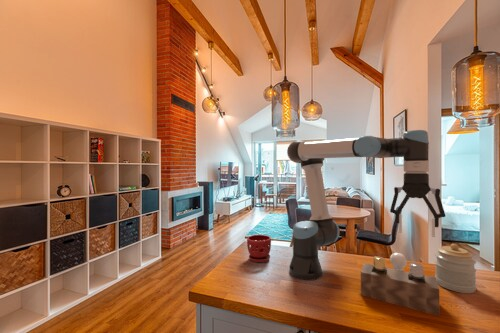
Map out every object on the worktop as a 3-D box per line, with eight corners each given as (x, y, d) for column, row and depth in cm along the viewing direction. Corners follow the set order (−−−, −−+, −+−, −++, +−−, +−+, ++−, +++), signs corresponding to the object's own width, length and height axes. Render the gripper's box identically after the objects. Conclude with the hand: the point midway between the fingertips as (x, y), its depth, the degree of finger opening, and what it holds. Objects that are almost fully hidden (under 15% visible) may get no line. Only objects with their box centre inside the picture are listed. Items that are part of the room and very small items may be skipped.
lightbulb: (409, 281, 102) (409, 256, 102) (393, 280, 103) (393, 255, 103) (402, 274, 108) (402, 251, 108) (387, 273, 109) (387, 250, 109)
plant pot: (275, 257, 129) (274, 235, 129) (264, 266, 118) (263, 242, 118) (254, 253, 136) (254, 232, 136) (242, 260, 125) (242, 238, 125)
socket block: (360, 295, 91) (360, 272, 91) (364, 284, 99) (364, 263, 99) (439, 316, 78) (439, 289, 78) (436, 301, 86) (435, 277, 86)
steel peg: (409, 287, 85) (409, 265, 85) (409, 282, 88) (409, 261, 88) (424, 291, 82) (424, 268, 82) (423, 285, 86) (423, 264, 86)
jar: (437, 275, 107) (437, 237, 107) (476, 285, 98) (476, 243, 98) (432, 285, 98) (432, 243, 98) (475, 298, 88) (475, 251, 89)
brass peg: (372, 279, 91) (372, 258, 91) (373, 274, 95) (373, 255, 95) (385, 282, 89) (385, 261, 89) (386, 277, 93) (385, 257, 93)
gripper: (381, 172, 88) (381, 231, 88) (456, 173, 76) (457, 241, 76) (382, 172, 95) (382, 227, 95) (452, 172, 83) (453, 236, 83)
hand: (416, 233), depth 85 cm, fingers open, 9 cm apart
